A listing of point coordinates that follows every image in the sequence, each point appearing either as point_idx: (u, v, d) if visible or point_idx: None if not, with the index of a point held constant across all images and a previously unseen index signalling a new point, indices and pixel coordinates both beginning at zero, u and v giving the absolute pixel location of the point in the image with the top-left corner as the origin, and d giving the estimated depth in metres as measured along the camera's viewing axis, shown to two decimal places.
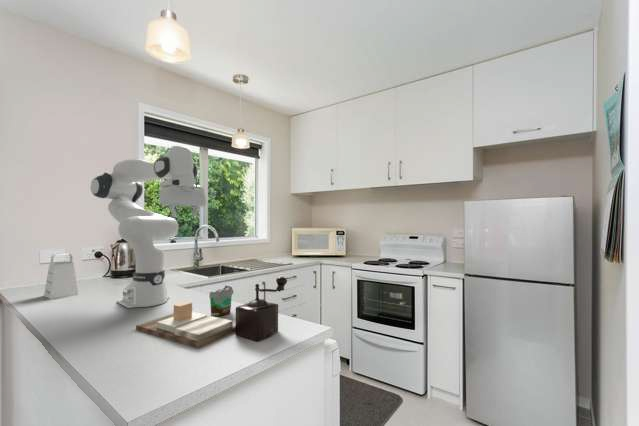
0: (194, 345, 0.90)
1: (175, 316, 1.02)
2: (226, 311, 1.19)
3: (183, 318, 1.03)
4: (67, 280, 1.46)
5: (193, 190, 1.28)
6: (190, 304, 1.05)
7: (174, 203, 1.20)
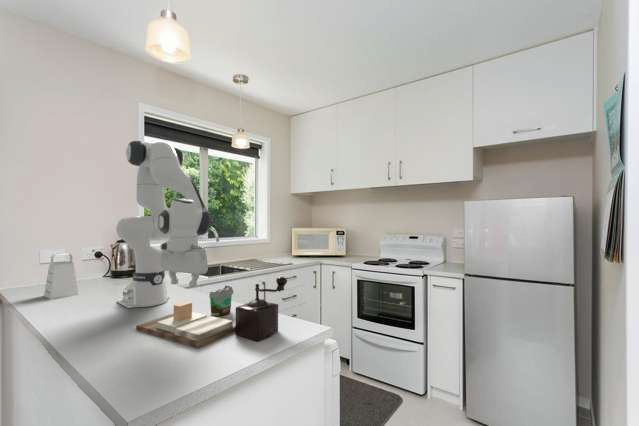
0: (194, 345, 0.90)
1: (175, 316, 1.02)
2: (226, 311, 1.19)
3: (183, 318, 1.03)
4: (67, 280, 1.46)
5: (186, 253, 1.01)
6: (190, 304, 1.05)
7: (168, 269, 1.06)
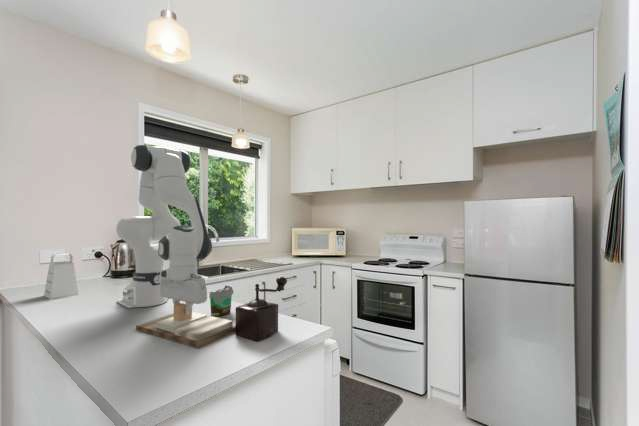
0: (194, 345, 0.90)
1: (175, 316, 1.02)
2: (226, 311, 1.19)
3: (183, 318, 1.03)
4: (67, 280, 1.46)
5: (185, 282, 1.01)
6: None
7: (167, 296, 1.06)
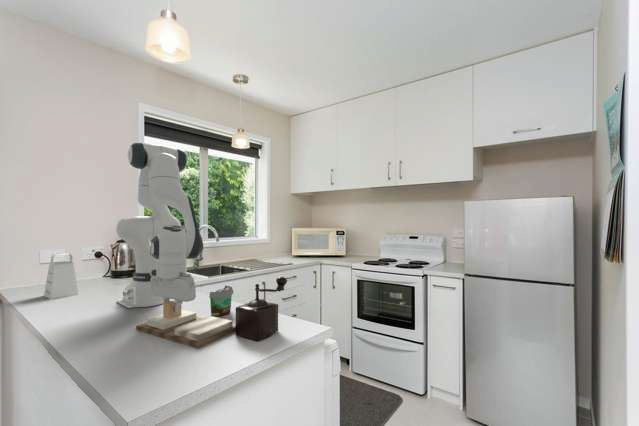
0: (194, 345, 0.90)
1: (165, 313, 1.05)
2: (226, 311, 1.19)
3: (172, 315, 1.05)
4: (67, 280, 1.46)
5: (174, 281, 1.04)
6: None
7: (157, 295, 1.08)
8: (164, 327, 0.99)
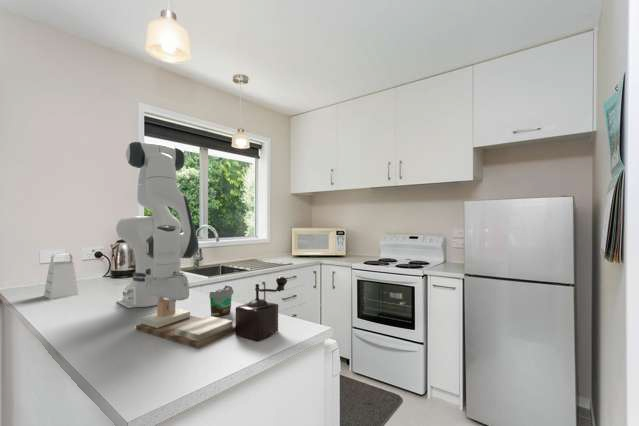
0: (194, 345, 0.90)
1: (159, 312, 1.07)
2: (226, 311, 1.19)
3: (166, 314, 1.07)
4: (67, 280, 1.46)
5: (168, 280, 1.05)
6: None
7: (151, 293, 1.10)
8: (158, 325, 1.01)
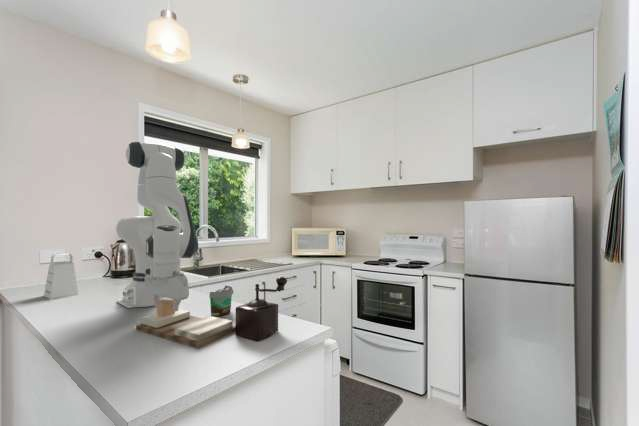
0: (194, 345, 0.90)
1: (158, 312, 1.07)
2: (226, 311, 1.19)
3: (166, 314, 1.07)
4: (67, 280, 1.46)
5: (168, 280, 1.05)
6: None
7: (151, 293, 1.10)
8: (157, 325, 1.01)
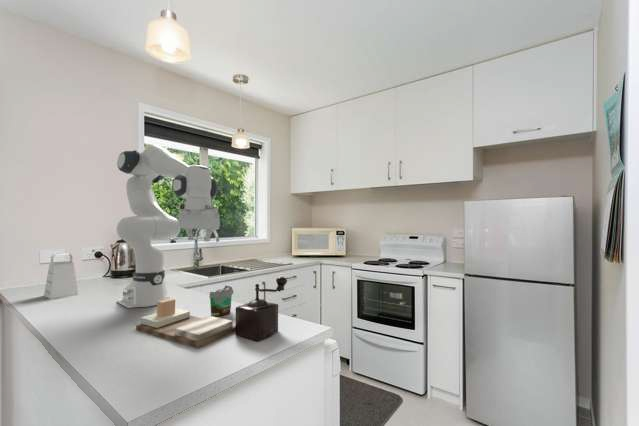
0: (194, 345, 0.90)
1: (158, 312, 1.07)
2: (226, 311, 1.19)
3: (166, 314, 1.07)
4: (67, 280, 1.46)
5: (201, 212, 1.16)
6: (173, 300, 1.09)
7: (185, 227, 1.21)
8: (157, 325, 1.01)
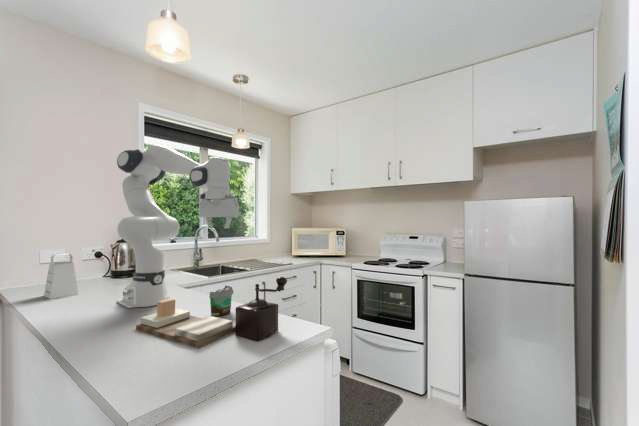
0: (194, 345, 0.90)
1: (158, 312, 1.07)
2: (226, 311, 1.19)
3: (166, 314, 1.07)
4: (67, 280, 1.46)
5: (221, 201, 1.24)
6: (173, 300, 1.09)
7: (205, 215, 1.29)
8: (157, 325, 1.01)
